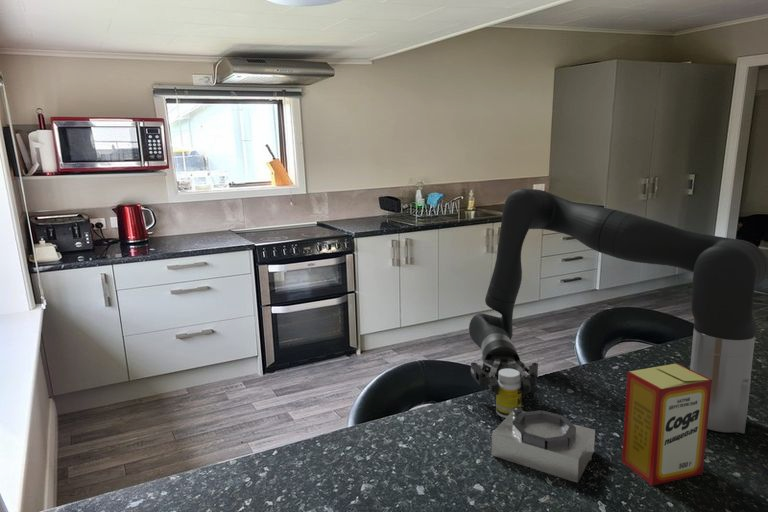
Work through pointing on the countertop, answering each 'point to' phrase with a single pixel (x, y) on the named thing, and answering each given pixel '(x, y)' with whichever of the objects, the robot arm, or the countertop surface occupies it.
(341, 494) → the countertop surface
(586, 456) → the octagon ring base plate
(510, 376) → the supplement bottle
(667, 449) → the baking soda box
